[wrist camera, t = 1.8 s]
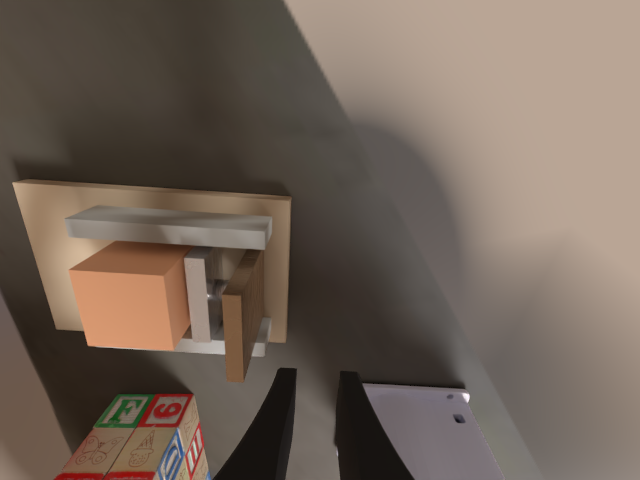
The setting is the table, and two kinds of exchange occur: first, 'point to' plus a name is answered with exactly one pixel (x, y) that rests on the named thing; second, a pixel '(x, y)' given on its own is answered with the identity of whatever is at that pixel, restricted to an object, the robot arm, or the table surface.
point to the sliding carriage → (226, 303)
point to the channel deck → (156, 240)
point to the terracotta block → (133, 295)
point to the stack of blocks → (142, 441)
